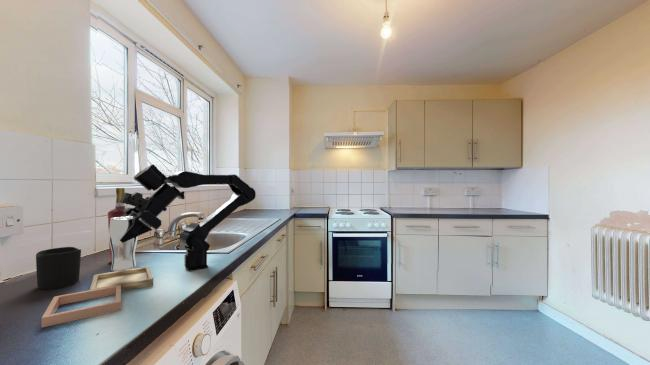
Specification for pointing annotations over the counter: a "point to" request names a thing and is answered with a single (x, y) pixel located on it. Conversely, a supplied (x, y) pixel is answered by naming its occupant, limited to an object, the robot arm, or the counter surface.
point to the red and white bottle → (116, 213)
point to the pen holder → (58, 267)
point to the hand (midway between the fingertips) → (118, 239)
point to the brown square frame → (67, 316)
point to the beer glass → (122, 244)
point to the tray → (124, 279)
